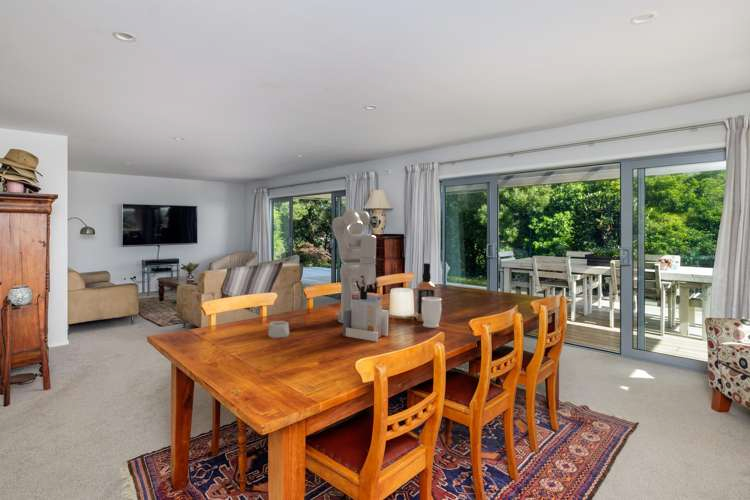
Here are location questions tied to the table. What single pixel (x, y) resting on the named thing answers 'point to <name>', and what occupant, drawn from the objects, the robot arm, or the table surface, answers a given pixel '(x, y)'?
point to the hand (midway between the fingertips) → (367, 297)
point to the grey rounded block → (278, 329)
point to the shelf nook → (363, 333)
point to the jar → (431, 311)
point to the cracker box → (367, 312)
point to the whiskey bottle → (424, 290)
